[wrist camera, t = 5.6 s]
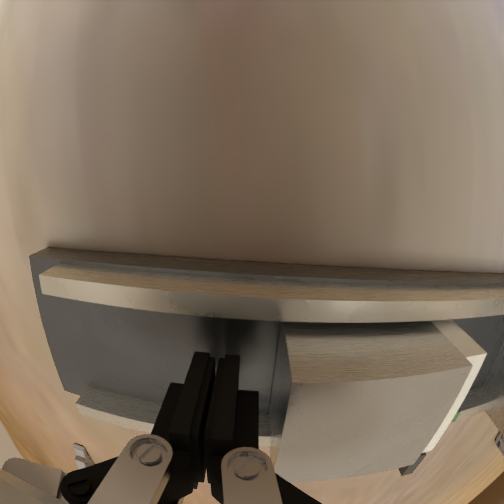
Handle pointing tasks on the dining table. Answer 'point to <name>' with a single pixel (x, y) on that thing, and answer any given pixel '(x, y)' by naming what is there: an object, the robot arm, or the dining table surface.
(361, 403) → the grey block
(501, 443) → the energy drink
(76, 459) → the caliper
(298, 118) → the dining table surface
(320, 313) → the gauge bed
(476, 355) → the white slab
